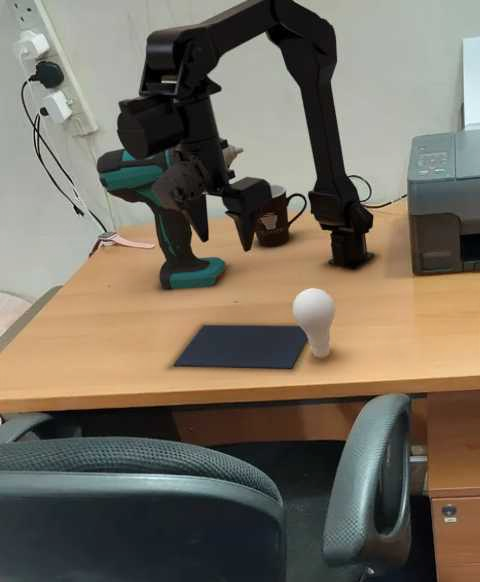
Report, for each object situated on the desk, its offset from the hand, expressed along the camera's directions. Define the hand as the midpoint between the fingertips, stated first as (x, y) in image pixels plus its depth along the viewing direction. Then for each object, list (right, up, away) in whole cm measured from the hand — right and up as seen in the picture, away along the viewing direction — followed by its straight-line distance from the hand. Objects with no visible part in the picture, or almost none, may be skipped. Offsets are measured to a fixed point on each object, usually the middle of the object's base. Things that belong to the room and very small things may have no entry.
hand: (226, 246), depth 100 cm
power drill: (-10, +2, +28) cm, 30 cm away
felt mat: (+2, -14, +5) cm, 16 cm away
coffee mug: (+4, +12, +37) cm, 39 cm away
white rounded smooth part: (+14, -17, 0) cm, 22 cm away
